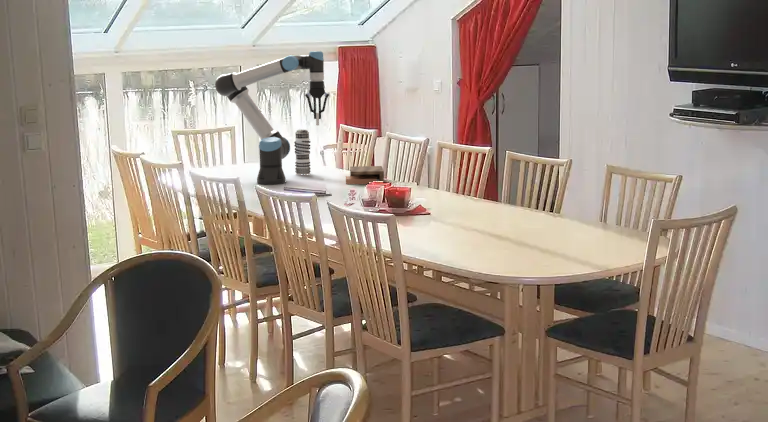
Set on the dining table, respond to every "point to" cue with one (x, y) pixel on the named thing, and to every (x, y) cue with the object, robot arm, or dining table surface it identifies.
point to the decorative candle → (302, 152)
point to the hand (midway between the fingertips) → (317, 125)
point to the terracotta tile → (360, 179)
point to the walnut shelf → (368, 171)
